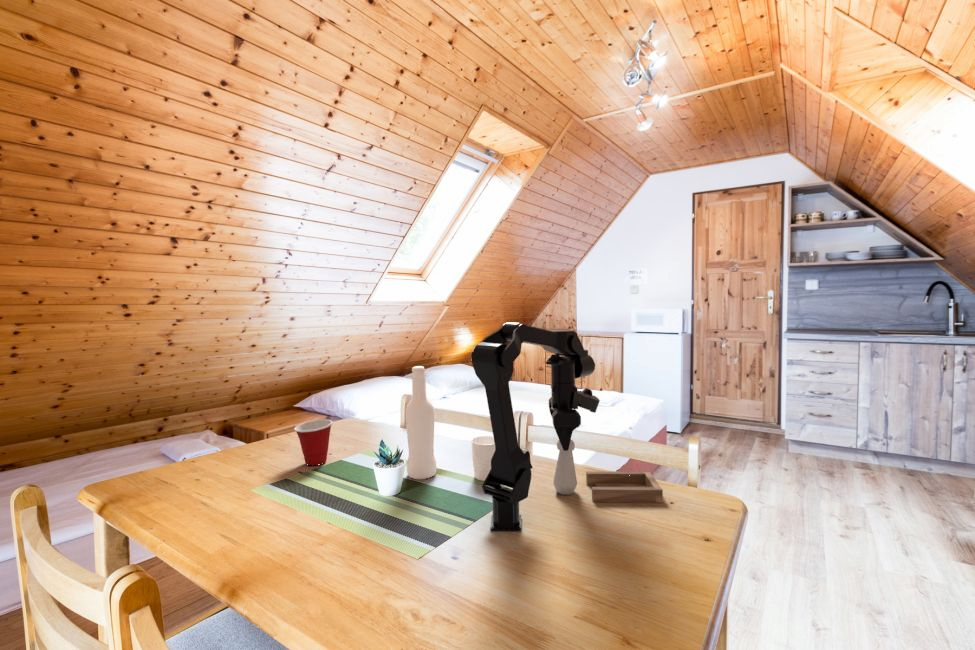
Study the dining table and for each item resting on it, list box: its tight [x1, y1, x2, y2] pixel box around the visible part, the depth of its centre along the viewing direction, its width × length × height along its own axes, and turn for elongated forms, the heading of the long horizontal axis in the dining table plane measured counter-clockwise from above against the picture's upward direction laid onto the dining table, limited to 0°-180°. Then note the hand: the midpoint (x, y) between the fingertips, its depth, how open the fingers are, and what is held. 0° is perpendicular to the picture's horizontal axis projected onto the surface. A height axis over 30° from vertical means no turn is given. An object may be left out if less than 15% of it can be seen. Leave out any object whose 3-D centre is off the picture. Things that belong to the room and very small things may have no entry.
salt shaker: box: [552, 439, 578, 496], centre depth 120 cm, size 6×6×13 cm
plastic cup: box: [293, 419, 333, 465], centre depth 145 cm, size 11×11×12 cm
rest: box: [585, 470, 664, 503], centre depth 120 cm, size 12×16×3 cm
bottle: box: [404, 365, 438, 480], centre depth 133 cm, size 8×8×30 cm
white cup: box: [471, 435, 495, 482], centre depth 132 cm, size 8×8×10 cm
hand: (564, 444), depth 120 cm, fingers open, 9 cm apart
